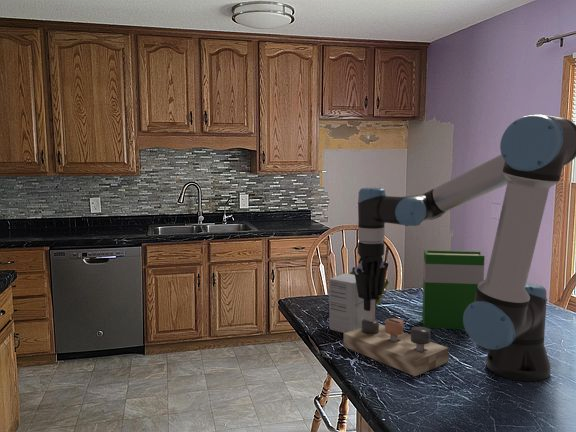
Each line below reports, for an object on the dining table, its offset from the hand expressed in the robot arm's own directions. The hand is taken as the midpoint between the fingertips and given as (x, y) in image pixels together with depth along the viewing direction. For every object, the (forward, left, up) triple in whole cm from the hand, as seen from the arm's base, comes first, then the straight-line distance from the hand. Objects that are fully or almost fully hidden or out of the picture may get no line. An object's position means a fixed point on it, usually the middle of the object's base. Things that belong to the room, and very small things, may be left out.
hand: (369, 320), depth 150 cm
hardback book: (-5, -33, -8) cm, 34 cm away
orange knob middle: (-9, 0, -5) cm, 10 cm away
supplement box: (+14, -5, -8) cm, 17 cm away
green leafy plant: (+25, -25, -8) cm, 36 cm away
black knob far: (0, 0, -7) cm, 7 cm away
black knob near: (-18, 0, -5) cm, 19 cm away
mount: (-9, 0, -7) cm, 12 cm away
